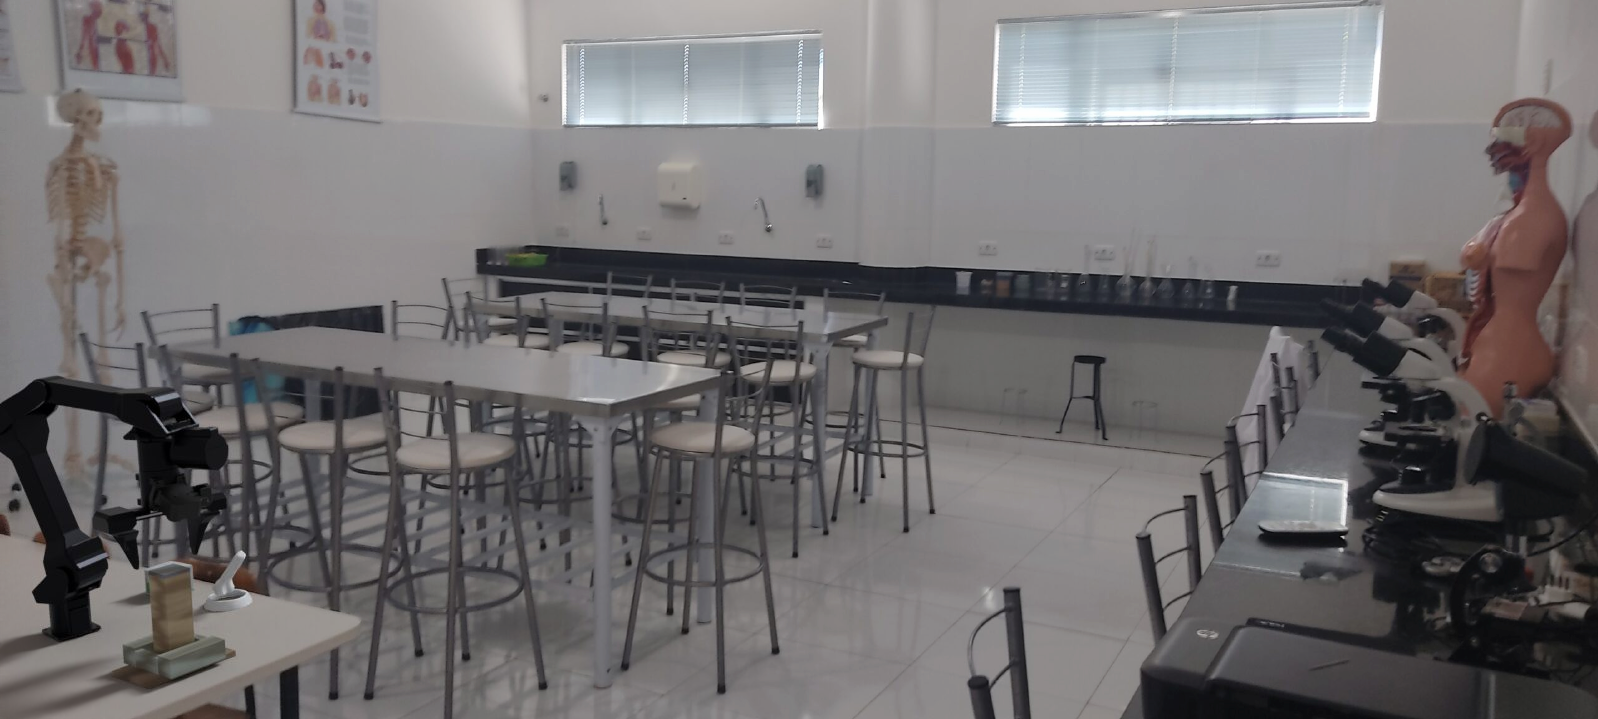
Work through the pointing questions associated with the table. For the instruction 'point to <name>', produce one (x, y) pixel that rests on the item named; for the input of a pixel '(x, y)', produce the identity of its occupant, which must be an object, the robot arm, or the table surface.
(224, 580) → the white stemmed ring
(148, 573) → the small box
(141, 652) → the socket
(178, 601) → the rail post
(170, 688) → the table surface
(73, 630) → the robot arm
